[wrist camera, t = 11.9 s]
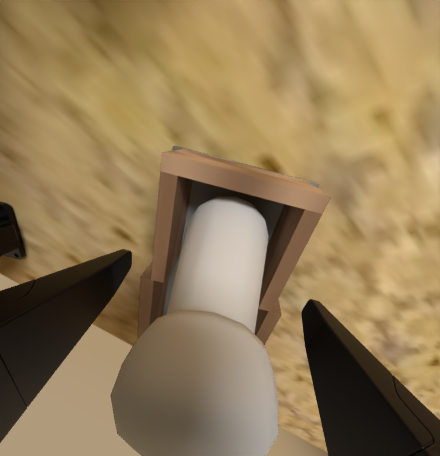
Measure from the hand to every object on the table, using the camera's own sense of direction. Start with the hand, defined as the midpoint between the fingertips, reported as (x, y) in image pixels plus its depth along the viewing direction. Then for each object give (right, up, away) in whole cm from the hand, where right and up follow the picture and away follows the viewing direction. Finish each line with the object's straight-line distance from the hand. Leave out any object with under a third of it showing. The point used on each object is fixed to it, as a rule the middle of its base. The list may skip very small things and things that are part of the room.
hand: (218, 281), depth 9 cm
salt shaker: (+1, +3, +7) cm, 8 cm away
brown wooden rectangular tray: (0, -1, +9) cm, 9 cm away
